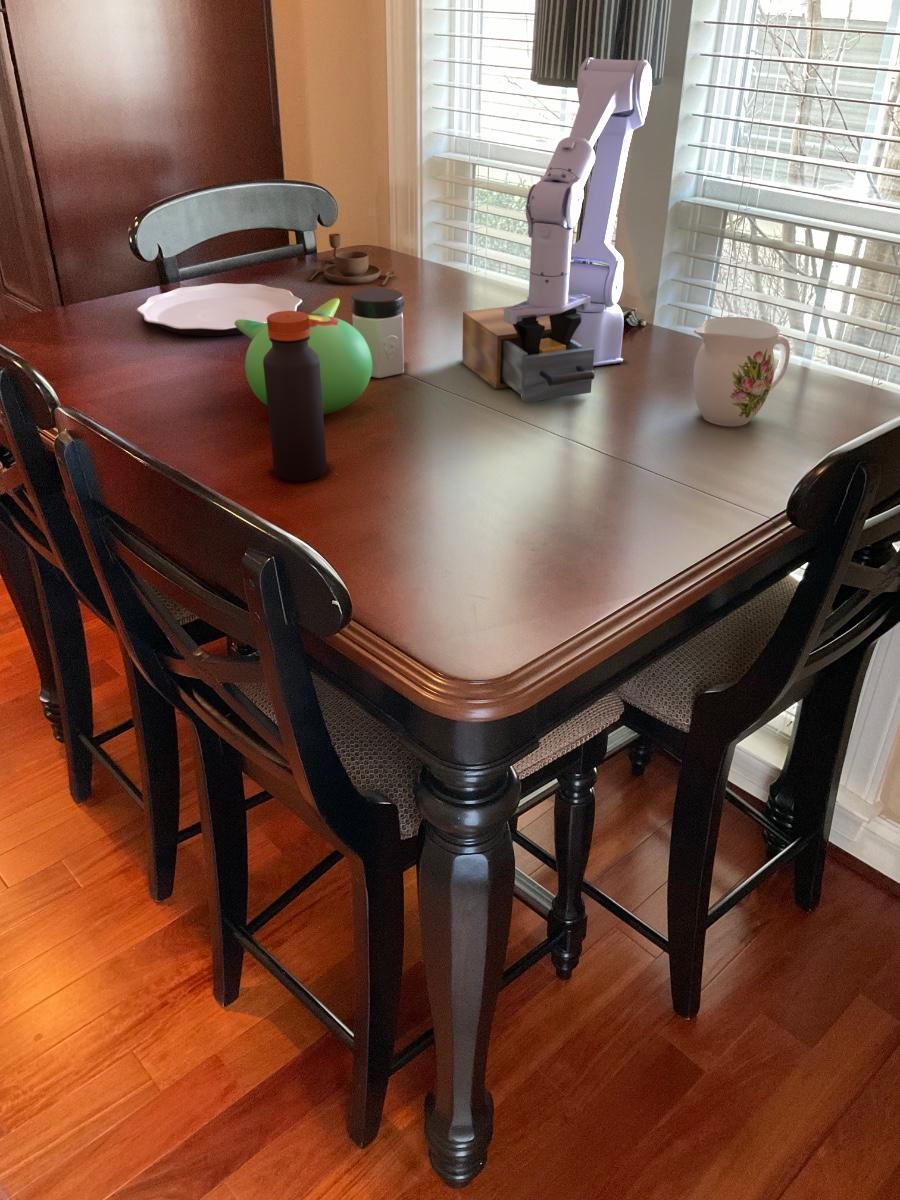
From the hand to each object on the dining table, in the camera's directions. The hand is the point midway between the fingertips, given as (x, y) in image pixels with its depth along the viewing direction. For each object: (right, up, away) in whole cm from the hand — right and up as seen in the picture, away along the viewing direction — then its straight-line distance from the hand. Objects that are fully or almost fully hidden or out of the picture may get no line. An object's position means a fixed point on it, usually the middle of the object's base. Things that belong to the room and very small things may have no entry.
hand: (544, 363), depth 148 cm
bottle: (-33, -19, -22) cm, 45 cm away
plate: (-57, +17, +35) cm, 69 cm away
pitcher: (+27, -9, -5) cm, 29 cm away
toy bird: (-35, -8, -4) cm, 36 cm away
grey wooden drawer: (0, -4, +1) cm, 4 cm away
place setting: (-34, +34, +62) cm, 78 cm away
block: (0, -1, +1) cm, 1 cm away
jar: (-26, +1, +11) cm, 28 cm away
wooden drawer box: (-4, +1, +11) cm, 11 cm away
